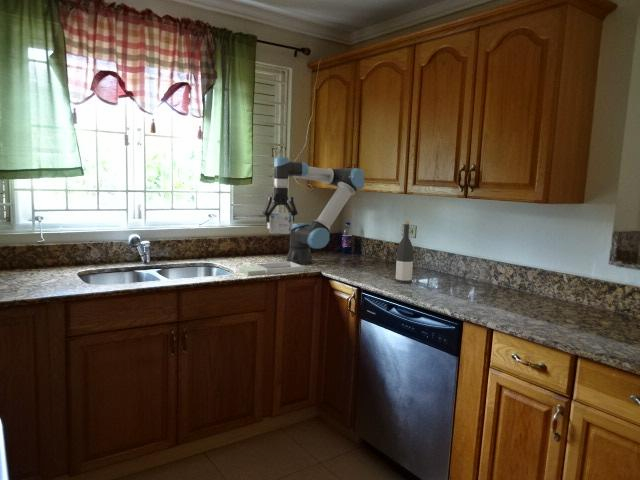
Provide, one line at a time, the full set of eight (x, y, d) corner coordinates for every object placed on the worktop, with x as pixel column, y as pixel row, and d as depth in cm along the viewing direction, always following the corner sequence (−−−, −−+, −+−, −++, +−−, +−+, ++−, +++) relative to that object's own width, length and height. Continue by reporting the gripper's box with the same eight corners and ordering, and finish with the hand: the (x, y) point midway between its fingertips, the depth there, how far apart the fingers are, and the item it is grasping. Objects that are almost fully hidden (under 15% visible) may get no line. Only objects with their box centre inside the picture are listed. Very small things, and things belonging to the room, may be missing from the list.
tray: (290, 265, 274) (290, 261, 274) (304, 271, 261) (304, 266, 261) (253, 268, 263) (254, 264, 263) (266, 274, 249) (266, 269, 249)
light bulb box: (291, 232, 262) (291, 212, 261) (288, 234, 256) (289, 213, 254) (271, 231, 263) (271, 211, 262) (268, 233, 257) (269, 212, 255)
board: (254, 269, 260) (254, 266, 259) (264, 274, 249) (264, 270, 249) (238, 271, 255) (238, 267, 255) (248, 275, 245) (248, 271, 244)
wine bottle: (393, 282, 239) (396, 221, 235) (397, 279, 247) (400, 220, 243) (410, 284, 236) (413, 222, 233) (413, 281, 244) (416, 221, 240)
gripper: (297, 187, 266) (296, 226, 269) (256, 186, 253) (256, 228, 256) (304, 187, 259) (303, 228, 262) (262, 187, 247) (262, 229, 250)
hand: (280, 228), depth 259 cm, fingers closed on light bulb box, 12 cm apart
